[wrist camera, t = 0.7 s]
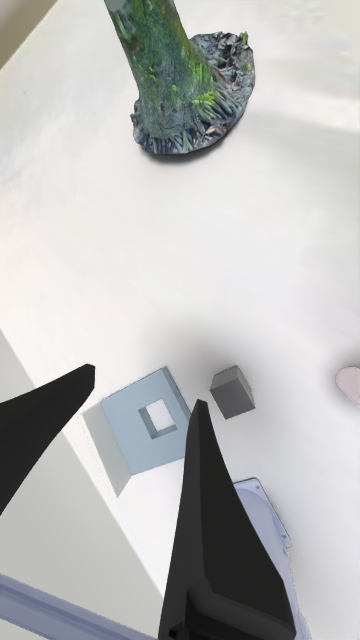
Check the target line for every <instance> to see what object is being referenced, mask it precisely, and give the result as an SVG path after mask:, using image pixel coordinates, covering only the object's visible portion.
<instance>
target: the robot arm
mask: <svg viewBox="0 0 360 640" xmlns="http://www.w3.org/2000/svg"><path fill="white" fill-rule="evenodd" d="M94 385H95V366H93V365H90V364H85V365H83V366H81V367H79V368H77V369H75V370H73V371H71V372H69V373H67V374H65V375H64V376H62V377H60V378H58V379H55V380H53V381H51V382H49V383H47V384H45V385H43V386H41V387H39V388H36V389H34V390H32V391H30V392H28V393H25V394H23V395H20V396H18V397H15V398H13V399H10V400H8V401H5V402H2V403H0V515H1V514H2V512H3V511H4V509H5V508H6V506H7V504H8V503H9V501H10V500H11V498H12V497H13V495H14V494H15V493H16V491H17V490H18V488H19V487H20V485H21V484H22V482H23V481H24V479H25V478H26V476H27V475H28V473H29V472H30V470H31V469H32V468H33V466H34V465H35V463H36V462H37V461H38V459H39V458H40V457H41V455H42V454H43V452H44V451H45V450H46V448H47V447H48V446H49V444H50V443H51V441H52V440H53V439H54V438H55V437H56V435H57V434H58V433H59V432H60V431H61V429H62V428H63V427H64V426H65V425H66V424H67V422H68V421H69V420H70V419H71V418H72V417H73V415H74V414H75V413H76V412H77V411H78V410H79V408H80V407H81V406H82V405H83V404H84V402H85V401H86V400H87V398H88V397H89V395H90V394H91V392H92V391H93V389H94ZM257 486H259V487H257ZM291 546H292V543H291V540H290V538H289V536H288V534H287V533H286V531H285V529H284V527H283V525H282V523H281V522H280V520H279V518H278V516H277V514H276V512H275V511H274V509H273V507H272V505H271V503H270V501H269V500H268V498H267V496H266V494H265V492H264V490H263V489H262V487H261V485H260V483H259V481H258V480H257V479H251V480H247V481H243V482H240V483H236V484H233V482H232V480H231V478H230V475H229V473H228V470H227V468H226V465H225V463H224V460H223V457H222V454H221V452H220V449H219V446H218V443H217V439H216V436H215V433H214V429H213V426H212V422H211V418H210V414H209V409H208V404H207V402H205V401H202V400H199V399H197V401H196V404H195V406H194V409H193V411H192V414H191V417H190V419H189V424H188V430H187V436H186V448H185V461H184V474H183V485H182V493H181V499H180V506H179V513H178V519H177V525H176V532H175V538H174V544H173V550H172V556H171V562H170V568H169V574H168V579H167V585H166V591H165V596H164V602H163V608H162V613H161V619H160V626H159V633H158V639H156V638H153V637H151V636H148V635H146V634H144V633H141V632H139V631H137V630H134V629H132V628H129V627H127V626H125V625H122V624H120V623H118V622H115V621H113V620H110V619H108V618H106V617H103V616H101V615H98V614H96V613H94V612H91V611H89V610H87V609H84V608H82V607H79V606H77V605H75V604H72V603H70V602H67V601H65V600H63V599H60V598H58V597H56V596H53V595H51V594H48V593H46V592H43V591H41V590H39V589H36V588H34V587H32V586H29V585H27V584H25V583H22V582H20V581H17V580H15V579H13V578H10V577H8V576H5V575H3V574H0V618H1V619H3V620H6V621H8V622H10V623H13V624H15V625H17V626H19V627H22V628H24V629H26V630H28V631H31V632H33V633H35V634H38V635H40V636H42V637H44V638H47V639H49V640H312V638H311V635H310V632H309V628H308V625H307V622H306V620H305V618H304V616H303V615H302V613H301V612H300V609H299V604H298V600H297V595H296V591H295V586H294V582H293V578H292V573H291V569H290V564H289V560H288V555H287V551H286V548H289V547H291Z"/></svg>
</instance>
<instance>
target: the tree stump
mask: <svg viewBox="0 0 360 640" xmlns="http://www.w3.org/2000/svg"><path fill="white" fill-rule="evenodd" d="M104 2H105V5H106V7H107V9H108V12H109V14H110V17H111V19H112V21H113V23H114V26H115V30H116V32H117V35H118V37H119V39H120V42H121V44H122V47H123V49H124V51H125V54H126V57H127V59H128V62H129V65H130V67H131V70H132V73H133V76H134V78H135V80H136V83H137V86H138V90H139V99H138V100H137V101H136V102H135V104H134V110H135V111H134V112H135V114H131V115H130V116H131V120H132V122H133V126H134V131H133V137H134V139H135V141H136V143H138V144H140V145H141V146H142V147H143V149H145V150H147V151H151V152H153V153H155V154H179V153H188V152H191V151H194V150H197V149H200V148H203V147H207V146H211V145H213V144H214V143H215V142H217V141H218V140H220V139H221V138H223V137H224V136H225V135H226V134H227V133H228V131H229V130H230V129H231V128H232V126H233V125H234V124H235V123H236V122H237V121H238V119H239V118H240V117H241V116H242V115H243V113H244V110H245V106H246V103H247V100H248V99H249V97H250V95H251V93H252V90H253V88H254V85H255V68H254V60H253V50H252V49H251V48H250V47H249V46H248V45H247V40H248V35H247V32H246V31H245V33H244V34H243V33H240V35H239V37H238V36H237V35H234V34H232V33H227V34H224V33H222V32H216V33H213V34H198V35H196V36H194V37H193V38H191V39H188V38H187V35H186V33H185V30H184V28H183V27H182V24H181V21H180V17H179V14H178V12H177V10H176V7H175V4H174V1H173V0H104Z"/></svg>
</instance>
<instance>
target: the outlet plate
mask: <svg viewBox="0 0 360 640" xmlns="http://www.w3.org/2000/svg"><path fill="white" fill-rule="evenodd" d="M160 399H163V401H164V403H165V405H166V407H167V409H168V411H169V413H170V415H171V417H172V419H173V421H174V423H175V425H174V426H171V427H169V428H166V429H164V430H161V431H159V432H157V431H156V429H155V427H154V425H153V423H152V421H151V419H150V417H149V415H148V413H147V410H146V408H145V407H146V406H148V405H150V404H152V403H154V402H156V401H158V400H160ZM77 417H78V420H79V422H80V425H81V427H82V429H83V432H84V434H85V437H86V439H87V441H88V444H89V446H90V449H91V451H92V453H93V456H94V458H95V461H96V463H97V465H98V468H99V470H100V473H101V475H102V477H103V480H104V482H105V485H106V487H107V490H108V492H109V494H110V497H111V499H112V500H113V499H116V498H118V496H119V495H120V493H121V492H122V490H123V489H124V487H125V485H126V484H127V482H128V481H129V479H130V478H131V476H132V475H135V474H138V473H141V472H144V471H146V470H149V469H152V468H155V467H158V466H161V465H164V464H167V463H170V462H173V461H176V460H179V459H182V458H185V448H186V436H187V430H188V424H189V419H190V417H191V414H190V412H189V410H188V408H187V406H186V404H185V402H184V400H183V398H182V396H181V394H180V392H179V390H178V389H177V387H176V385H175V383H174V381H173V379H172V377H171V375H170V373H169V371H168V369H167V367H166V366H165V367H163V368H161V369H160V370H158V371H156V372H154V373H152V374H150V375H148V376H146V377H145V378H143V379H141V380H139V381H137V382H135V383H133V384H131V385H130V386H128V387H126V388H124V389H122V390H120V391H118V392H116V393H115V394H113V395H111V396H109V397H107V398H105V399H103V400H102V401H100V402H99V403H97V404H95V405H94V406H92V407H91V408H89V409H87V410H86V411H84V412H83V413H81V414H79V415H78V416H77Z"/></svg>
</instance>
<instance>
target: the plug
mask: <svg viewBox="0 0 360 640" xmlns="http://www.w3.org/2000/svg"><path fill="white" fill-rule="evenodd" d="M210 392H211V394H212V396H213V397H214V399H215V401H216V403H217V405H218V407H219V408H220V410H221V412H222V414H223V416H224V418H225V419H229V418H231V417H234V416H236V415H239V414H242V413H244V412H247V411H250V410H252V409H255V404H254V400H253V395H252V391H251V388H250V386H249V384H248V383H247V381H246V379H245V378H244V376H243V374H242V372H241V371H240V369H239V367H238V366H237V365H236V366H234V367H232V368H229V369H227V370H225V371H223V372H221V373H219V374H217V375H215V376H214V379H213V382H212V385H211V388H210Z"/></svg>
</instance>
